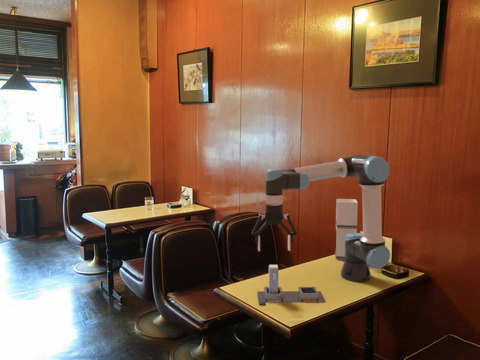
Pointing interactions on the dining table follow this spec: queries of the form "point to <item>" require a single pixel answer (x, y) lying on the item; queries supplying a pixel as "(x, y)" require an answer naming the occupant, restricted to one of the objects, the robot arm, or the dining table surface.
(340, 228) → the white rectangular tower
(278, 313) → the dining table surface
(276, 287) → the plug
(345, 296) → the dining table surface
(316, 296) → the panel
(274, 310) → the dining table surface
